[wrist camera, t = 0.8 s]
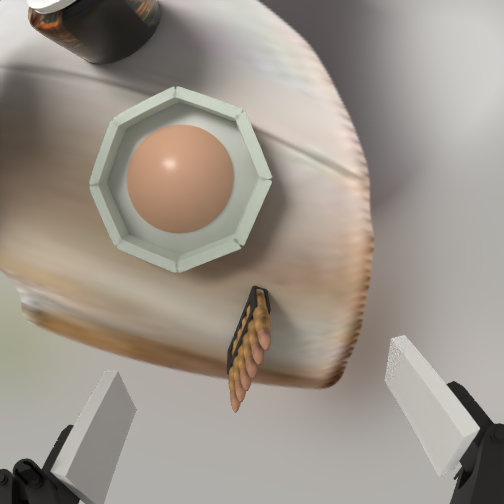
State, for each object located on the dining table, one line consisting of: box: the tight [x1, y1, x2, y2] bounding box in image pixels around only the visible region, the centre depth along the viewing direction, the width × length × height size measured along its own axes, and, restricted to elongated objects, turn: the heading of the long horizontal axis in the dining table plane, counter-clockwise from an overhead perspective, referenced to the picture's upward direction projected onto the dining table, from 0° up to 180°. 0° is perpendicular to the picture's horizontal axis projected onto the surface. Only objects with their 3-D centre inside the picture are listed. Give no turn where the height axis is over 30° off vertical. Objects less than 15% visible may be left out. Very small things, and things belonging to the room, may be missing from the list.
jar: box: [28, 0, 160, 64], centre depth 18 cm, size 12×12×15 cm
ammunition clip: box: [227, 286, 271, 412], centre depth 32 cm, size 11×2×12 cm, turn 161°
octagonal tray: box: [89, 86, 272, 273], centre depth 30 cm, size 19×19×4 cm
